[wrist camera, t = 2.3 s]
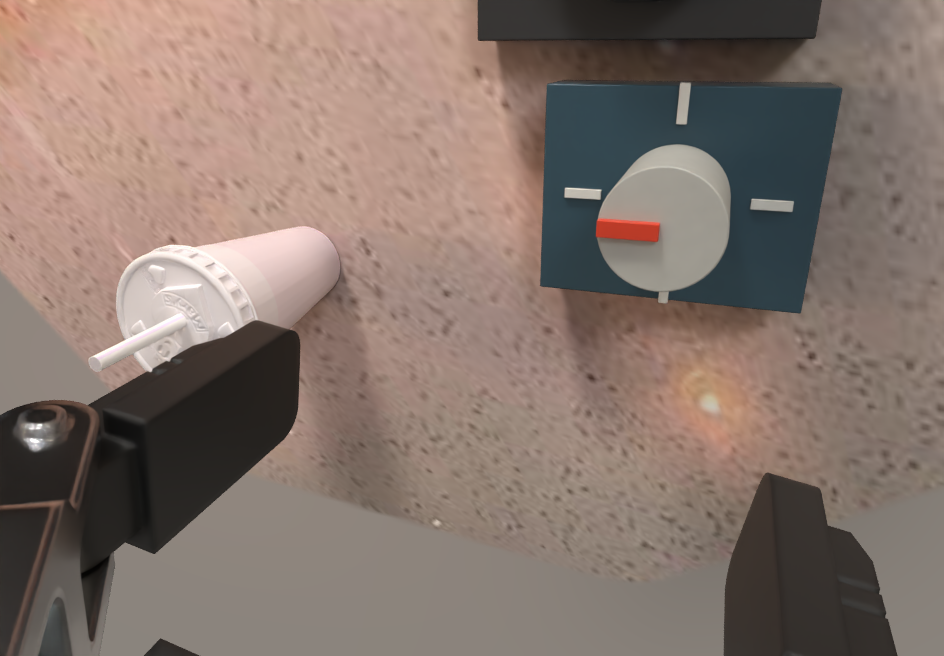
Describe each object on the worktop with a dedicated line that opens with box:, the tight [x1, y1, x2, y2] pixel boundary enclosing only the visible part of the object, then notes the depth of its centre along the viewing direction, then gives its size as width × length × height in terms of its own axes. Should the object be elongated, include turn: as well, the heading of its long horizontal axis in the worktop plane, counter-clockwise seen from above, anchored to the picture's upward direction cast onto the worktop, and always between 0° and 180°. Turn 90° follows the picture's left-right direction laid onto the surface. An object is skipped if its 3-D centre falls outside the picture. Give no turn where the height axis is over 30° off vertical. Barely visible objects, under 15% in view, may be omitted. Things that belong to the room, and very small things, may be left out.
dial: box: [596, 144, 731, 292], centre depth 24 cm, size 4×4×5 cm
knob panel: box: [540, 80, 842, 313], centre depth 27 cm, size 10×8×3 cm
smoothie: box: [89, 226, 340, 372], centre depth 30 cm, size 6×6×14 cm
